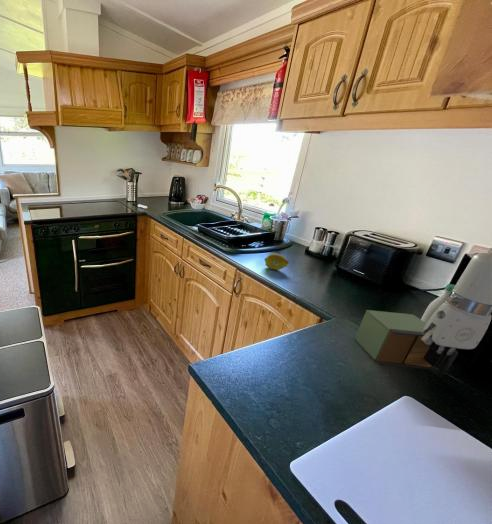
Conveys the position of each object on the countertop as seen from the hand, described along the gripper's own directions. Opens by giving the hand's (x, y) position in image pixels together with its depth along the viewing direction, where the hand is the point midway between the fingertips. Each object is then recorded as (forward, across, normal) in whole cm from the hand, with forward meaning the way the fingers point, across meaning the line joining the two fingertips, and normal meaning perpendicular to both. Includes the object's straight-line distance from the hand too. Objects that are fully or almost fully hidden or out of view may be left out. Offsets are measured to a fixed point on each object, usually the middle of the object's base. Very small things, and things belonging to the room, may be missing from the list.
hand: (431, 362), depth 76 cm
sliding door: (+5, +2, +2) cm, 5 cm away
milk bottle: (+5, +18, +19) cm, 27 cm away
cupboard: (+6, -1, +11) cm, 12 cm away
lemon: (+7, -15, +71) cm, 73 cm away
